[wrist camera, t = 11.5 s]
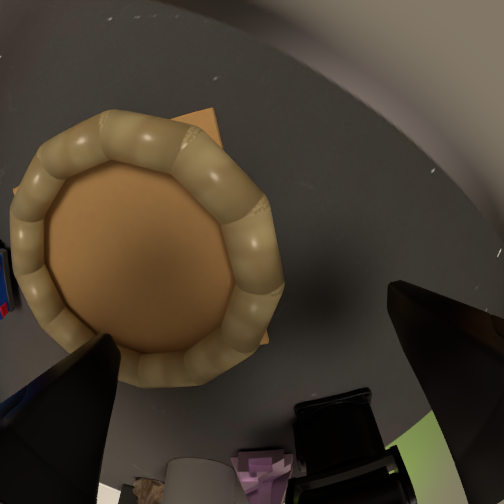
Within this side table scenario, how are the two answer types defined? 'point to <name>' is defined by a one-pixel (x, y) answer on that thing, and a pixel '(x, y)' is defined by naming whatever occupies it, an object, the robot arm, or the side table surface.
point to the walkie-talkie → (127, 495)
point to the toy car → (5, 285)
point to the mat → (139, 254)
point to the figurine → (148, 491)
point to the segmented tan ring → (203, 190)
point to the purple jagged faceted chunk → (264, 475)
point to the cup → (198, 482)
